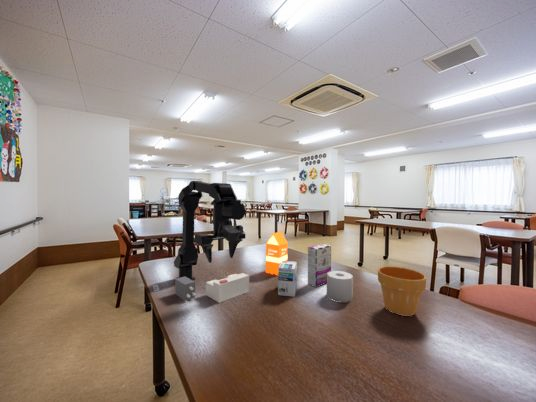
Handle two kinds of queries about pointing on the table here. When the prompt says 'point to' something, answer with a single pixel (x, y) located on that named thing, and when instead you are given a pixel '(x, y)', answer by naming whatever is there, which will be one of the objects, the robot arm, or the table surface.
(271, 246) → the orange juice
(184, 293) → the plug
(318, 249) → the candy bar box
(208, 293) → the socket
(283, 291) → the light bulb box
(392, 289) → the flower pot
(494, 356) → the table surface
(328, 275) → the toilet tissue
